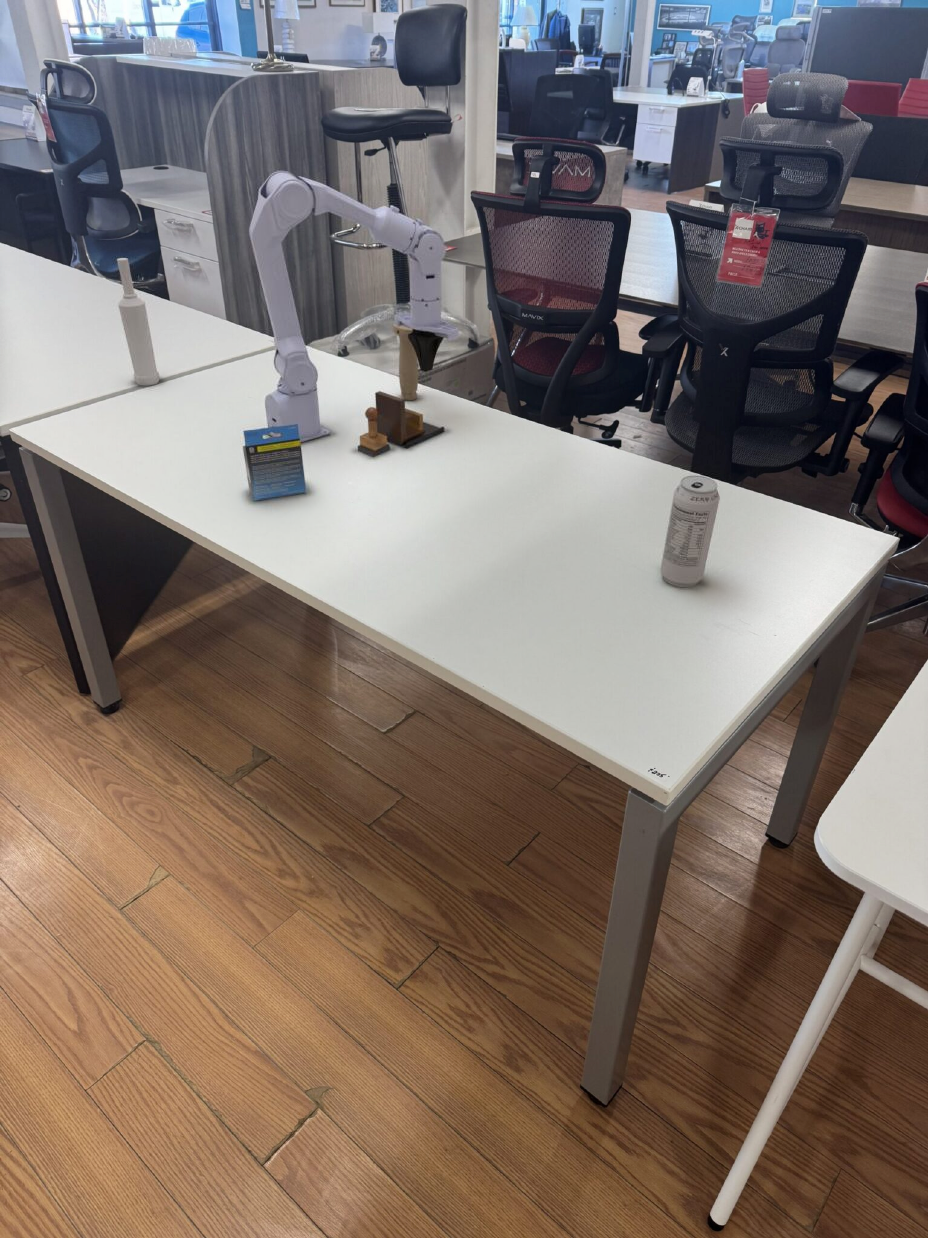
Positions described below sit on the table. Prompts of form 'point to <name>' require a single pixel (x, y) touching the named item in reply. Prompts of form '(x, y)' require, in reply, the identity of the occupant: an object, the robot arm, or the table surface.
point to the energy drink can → (690, 531)
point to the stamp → (373, 436)
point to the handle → (407, 363)
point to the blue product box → (274, 462)
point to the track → (429, 432)
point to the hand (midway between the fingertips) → (426, 369)
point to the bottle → (137, 330)
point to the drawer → (397, 419)
